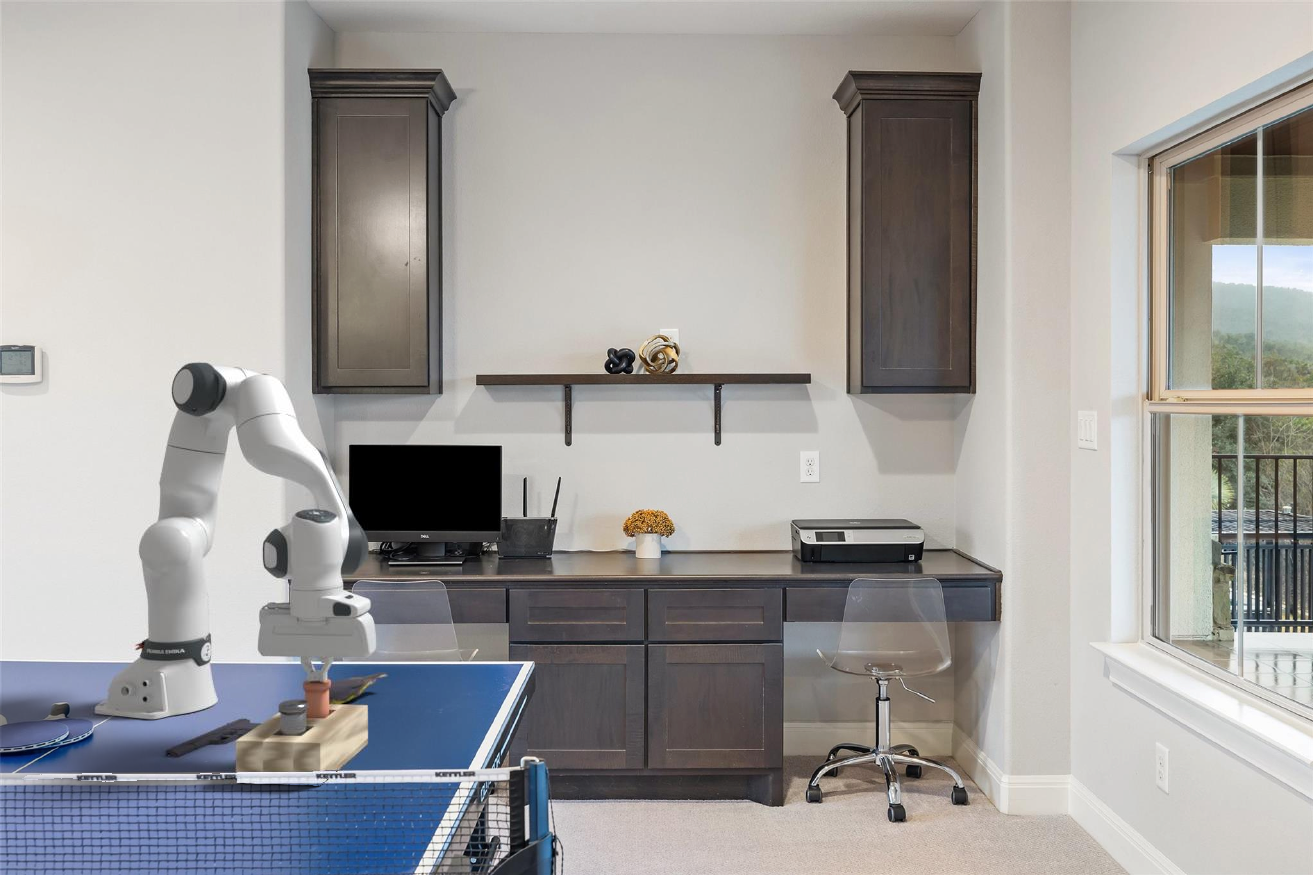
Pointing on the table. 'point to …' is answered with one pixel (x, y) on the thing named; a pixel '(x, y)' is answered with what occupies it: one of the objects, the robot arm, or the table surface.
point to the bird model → (350, 687)
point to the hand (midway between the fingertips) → (317, 681)
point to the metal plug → (293, 717)
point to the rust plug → (317, 698)
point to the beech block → (305, 743)
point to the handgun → (215, 737)
